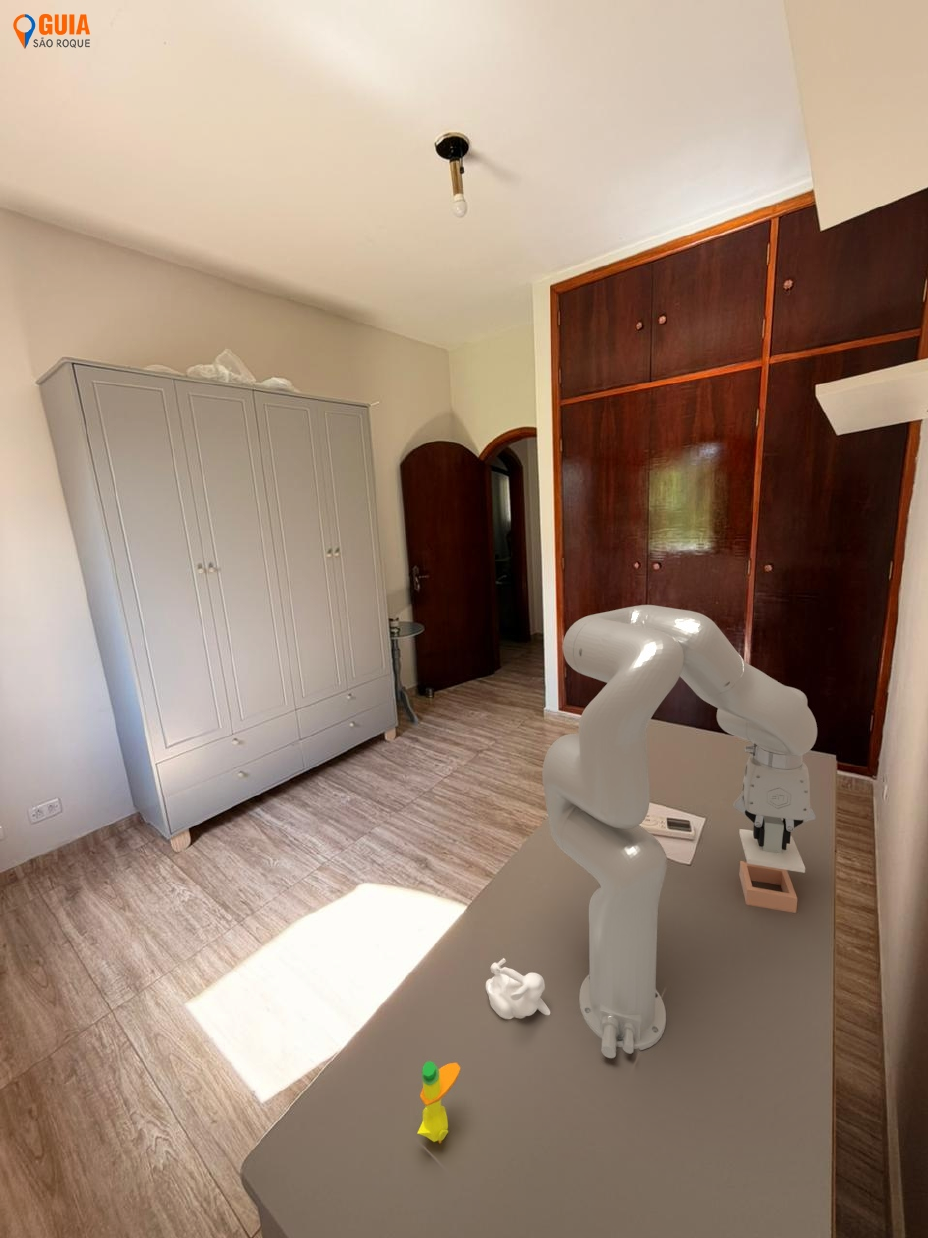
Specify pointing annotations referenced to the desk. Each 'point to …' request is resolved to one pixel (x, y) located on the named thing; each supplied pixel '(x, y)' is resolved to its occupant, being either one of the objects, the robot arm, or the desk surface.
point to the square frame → (764, 896)
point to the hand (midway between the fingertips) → (770, 842)
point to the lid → (771, 847)
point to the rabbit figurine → (515, 992)
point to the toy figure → (436, 1098)
